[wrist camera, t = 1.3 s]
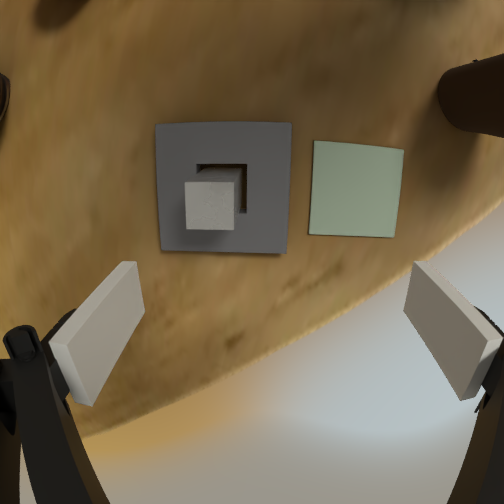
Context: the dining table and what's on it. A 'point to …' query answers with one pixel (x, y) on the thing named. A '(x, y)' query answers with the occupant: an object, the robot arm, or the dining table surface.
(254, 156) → the pocket block
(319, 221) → the green mat
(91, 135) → the dining table surface
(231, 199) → the metal peg
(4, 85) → the ceramic jug
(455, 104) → the olive oil
